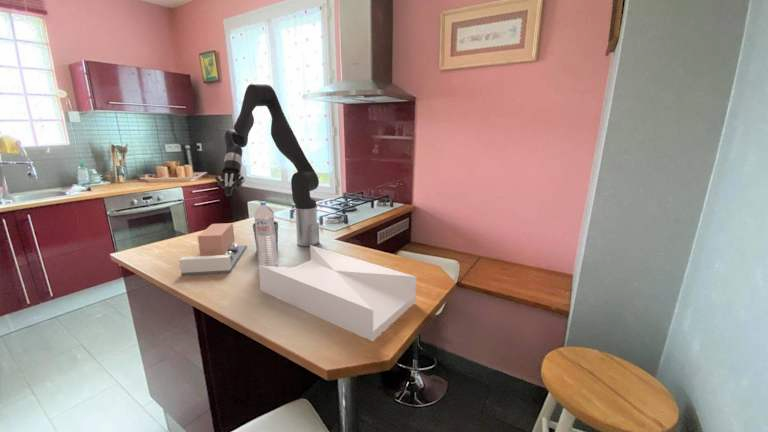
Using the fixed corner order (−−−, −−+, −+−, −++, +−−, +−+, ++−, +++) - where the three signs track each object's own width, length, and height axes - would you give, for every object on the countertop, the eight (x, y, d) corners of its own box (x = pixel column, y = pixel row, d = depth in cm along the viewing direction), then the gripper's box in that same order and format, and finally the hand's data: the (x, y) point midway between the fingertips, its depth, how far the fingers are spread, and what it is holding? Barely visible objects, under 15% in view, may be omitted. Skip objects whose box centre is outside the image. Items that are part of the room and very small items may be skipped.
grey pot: (253, 255, 130) (250, 227, 127) (257, 246, 140) (254, 220, 137) (278, 253, 133) (276, 226, 129) (281, 245, 142) (279, 219, 139)
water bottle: (281, 263, 123) (276, 201, 116) (268, 270, 117) (262, 205, 110) (268, 260, 125) (263, 199, 119) (254, 267, 119) (248, 202, 113)
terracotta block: (214, 241, 133) (212, 223, 131) (234, 241, 135) (232, 223, 133) (200, 256, 118) (197, 236, 116) (223, 255, 120) (220, 235, 118)
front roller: (235, 256, 126) (234, 249, 125) (232, 259, 123) (232, 252, 123) (199, 258, 124) (198, 251, 123) (196, 261, 121) (195, 254, 120)
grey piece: (207, 249, 136) (205, 235, 135) (246, 247, 139) (245, 234, 137) (181, 275, 112) (179, 259, 110) (230, 272, 114) (228, 257, 113)
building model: (415, 305, 96) (416, 276, 94) (373, 343, 78) (373, 310, 76) (311, 268, 120) (310, 245, 118) (260, 291, 102) (258, 264, 100)
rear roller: (240, 249, 134) (239, 242, 133) (238, 252, 131) (237, 245, 130) (207, 250, 131) (206, 244, 131) (204, 253, 129) (203, 246, 128)
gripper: (214, 159, 144) (208, 190, 136) (245, 159, 147) (241, 190, 138) (219, 169, 151) (214, 199, 142) (249, 169, 153) (245, 199, 145)
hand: (227, 195), depth 140 cm, fingers closed
